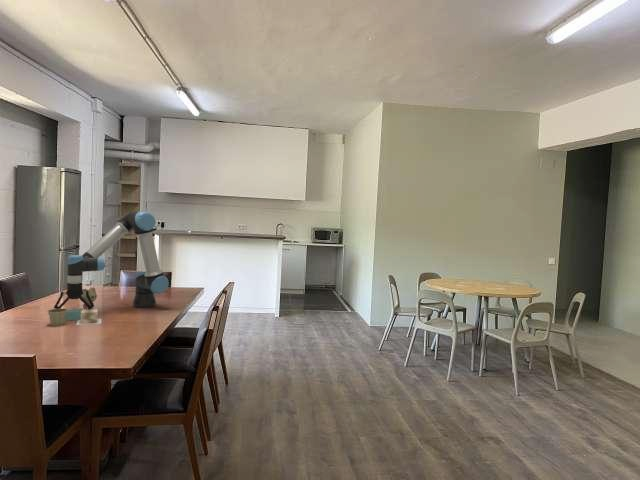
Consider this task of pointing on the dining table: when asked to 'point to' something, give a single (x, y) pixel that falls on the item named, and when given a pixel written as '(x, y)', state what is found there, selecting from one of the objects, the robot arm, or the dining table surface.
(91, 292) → the toy
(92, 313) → the beech block
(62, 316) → the flower pot
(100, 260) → the robot arm
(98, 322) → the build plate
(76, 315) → the teal block
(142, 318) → the dining table surface
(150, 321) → the dining table surface
